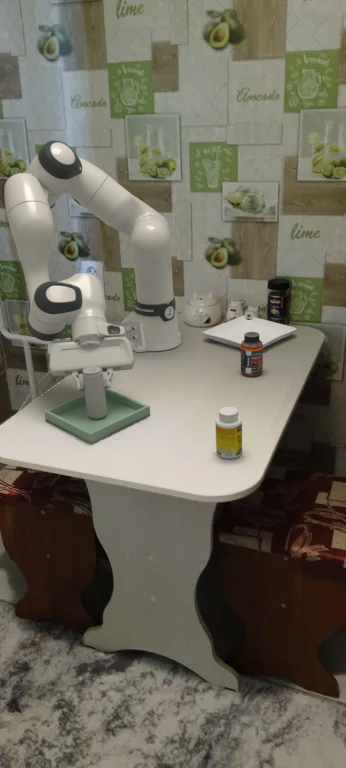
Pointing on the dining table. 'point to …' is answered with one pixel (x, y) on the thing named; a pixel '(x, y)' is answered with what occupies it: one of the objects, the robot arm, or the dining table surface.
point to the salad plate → (238, 327)
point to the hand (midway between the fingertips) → (94, 388)
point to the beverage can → (94, 392)
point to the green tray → (93, 430)
